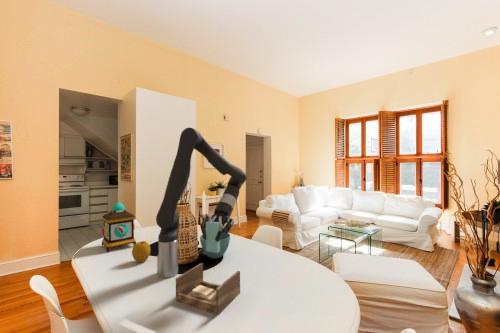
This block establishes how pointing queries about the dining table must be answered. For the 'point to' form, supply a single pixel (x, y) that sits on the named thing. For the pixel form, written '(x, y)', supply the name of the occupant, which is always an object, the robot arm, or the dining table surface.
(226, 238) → the plant pot
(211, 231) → the teal board
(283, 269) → the dining table surface
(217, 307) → the walnut rack
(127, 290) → the dining table surface
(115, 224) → the decorative lantern
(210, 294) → the offcut stack
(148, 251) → the apple
